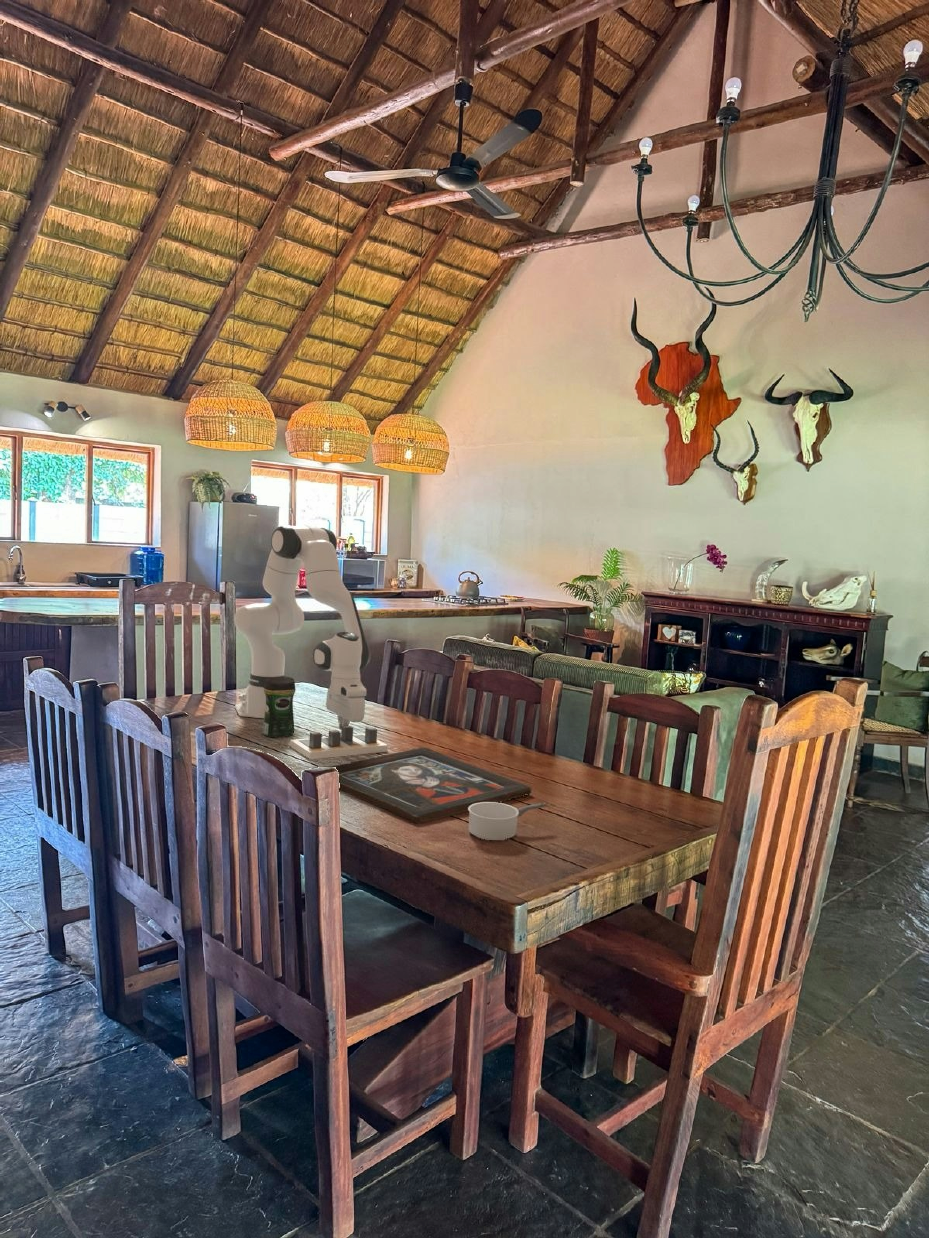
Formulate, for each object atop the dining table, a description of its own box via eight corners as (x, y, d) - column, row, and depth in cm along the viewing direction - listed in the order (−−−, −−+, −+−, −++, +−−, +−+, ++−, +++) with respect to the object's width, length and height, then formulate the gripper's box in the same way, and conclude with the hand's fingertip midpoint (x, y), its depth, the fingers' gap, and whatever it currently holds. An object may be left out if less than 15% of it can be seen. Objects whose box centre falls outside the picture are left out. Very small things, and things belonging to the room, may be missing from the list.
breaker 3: (340, 739, 247) (341, 725, 247) (348, 738, 249) (349, 724, 248) (345, 741, 245) (345, 727, 244) (352, 740, 246) (353, 727, 246)
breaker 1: (309, 745, 237) (309, 731, 237) (317, 745, 238) (317, 731, 238) (313, 748, 235) (313, 734, 234) (321, 747, 236) (321, 733, 236)
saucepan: (558, 834, 184) (560, 810, 184) (483, 847, 174) (485, 821, 173) (529, 818, 194) (531, 795, 193) (456, 828, 184) (458, 805, 183)
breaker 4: (364, 740, 247) (365, 727, 247) (372, 740, 248) (372, 726, 248) (369, 743, 244) (369, 729, 244) (376, 742, 246) (377, 728, 245)
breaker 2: (328, 744, 240) (328, 730, 240) (335, 743, 242) (336, 729, 241) (332, 746, 238) (333, 732, 237) (340, 745, 239) (340, 731, 239)
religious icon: (419, 754, 244) (420, 744, 243) (533, 796, 212) (534, 785, 212) (306, 777, 216) (307, 766, 215) (417, 829, 184) (418, 816, 184)
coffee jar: (289, 730, 262) (291, 674, 260) (296, 736, 255) (299, 678, 254) (259, 732, 257) (261, 675, 256) (266, 738, 251) (268, 679, 249)
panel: (290, 746, 244) (290, 739, 243) (365, 739, 257) (365, 732, 257) (309, 759, 231) (309, 751, 231) (387, 751, 245) (387, 744, 245)
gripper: (322, 680, 254) (320, 723, 256) (350, 692, 237) (347, 738, 239) (340, 679, 258) (338, 722, 259) (369, 691, 241) (367, 737, 242)
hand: (343, 730), depth 249 cm, fingers closed
